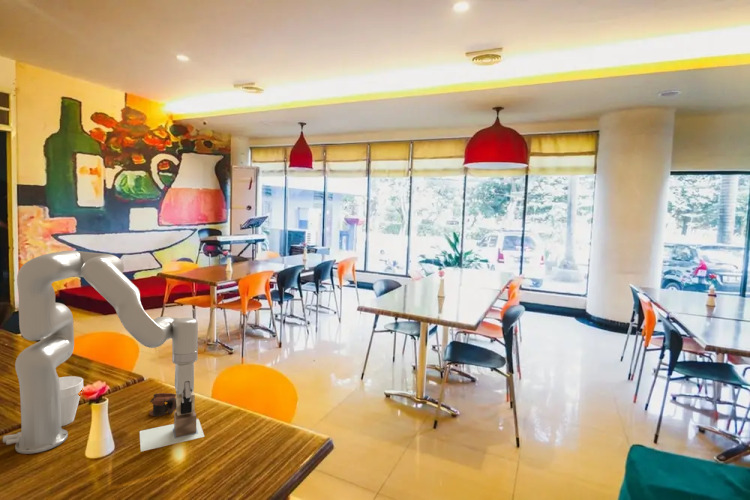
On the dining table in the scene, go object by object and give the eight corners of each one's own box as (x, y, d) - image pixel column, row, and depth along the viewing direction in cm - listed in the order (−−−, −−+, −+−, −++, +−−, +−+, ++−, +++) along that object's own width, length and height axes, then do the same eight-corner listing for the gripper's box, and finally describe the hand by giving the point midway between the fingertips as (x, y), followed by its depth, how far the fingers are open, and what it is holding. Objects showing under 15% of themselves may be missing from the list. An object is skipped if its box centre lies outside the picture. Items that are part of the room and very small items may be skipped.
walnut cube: (176, 437, 130) (176, 419, 129) (174, 428, 135) (174, 411, 134) (196, 432, 133) (196, 415, 133) (193, 424, 138) (193, 407, 138)
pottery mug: (140, 418, 143) (145, 393, 147) (162, 419, 151) (166, 395, 155) (166, 416, 139) (170, 391, 143) (187, 417, 147) (190, 393, 151)
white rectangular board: (140, 454, 122) (140, 451, 122) (139, 433, 133) (139, 430, 133) (204, 438, 131) (204, 436, 131) (198, 420, 142) (198, 418, 142)
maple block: (177, 415, 130) (177, 397, 129) (176, 409, 134) (176, 391, 134) (194, 412, 133) (194, 394, 132) (192, 405, 137) (192, 388, 136)
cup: (58, 433, 130) (57, 393, 129) (28, 427, 133) (27, 387, 132) (92, 416, 142) (92, 378, 141) (64, 411, 145) (64, 374, 144)
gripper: (170, 349, 137) (170, 401, 139) (175, 366, 123) (175, 424, 124) (193, 346, 141) (193, 396, 143) (201, 363, 127) (201, 418, 128)
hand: (185, 408), depth 133 cm, fingers closed on maple block, 4 cm apart
